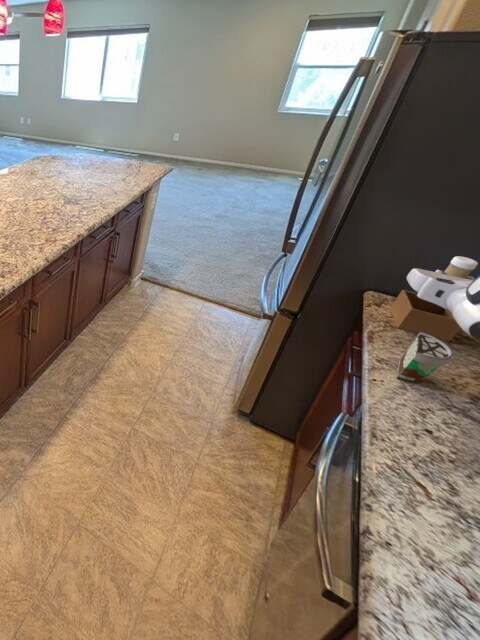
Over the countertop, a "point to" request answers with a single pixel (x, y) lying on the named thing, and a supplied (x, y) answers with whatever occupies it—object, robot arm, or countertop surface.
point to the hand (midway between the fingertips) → (452, 275)
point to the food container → (422, 358)
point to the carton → (423, 316)
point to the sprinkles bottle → (461, 267)
